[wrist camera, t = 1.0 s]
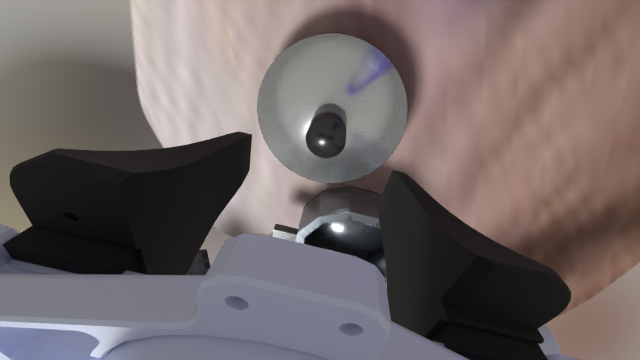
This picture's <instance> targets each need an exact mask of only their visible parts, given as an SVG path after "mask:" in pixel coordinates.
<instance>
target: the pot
mask: <svg viewBox="0 0 640 360" xmlns="http://www.w3.org/2000/svg"><path fill="white" fill-rule="evenodd" d="M380 198H381V195H379V194H378V193H375V192H371V191H367V190H363V189H359V188H355V187H351V186H349V187H344V188H339V189H334V190H329V191H323V192H321V193H320V194H319V195H318V196H317V197H315V198H314V199H313V200H312V201H311V202H309V203H308V204H307V205H306V206H305V207H304V209H303V213H302V217H301V221H300V225H299V229H296V228H292V227H287V226H283V225H279V224H276V225H275V227H274V231H273V237H277V238H281V239H285V240H289V241H293V242H298V243H302V244H306V245H310V246H314V247H318V248H323V249H327V250H331V251H335V252H339V253H344V254H348V255H352V256H356V257H358V258H360V259H362V260H364V261H367V262H369V263H371V264H373V265H375V266H376V267H377V268H378V270H379V271H380V272H381V274H382V275H383V276H384V278H385V282H386V283H387V276H386V260H385V253H384V247H383V241H382V235H381V229H380V223H379V200H380Z"/></svg>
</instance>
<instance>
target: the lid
mask: <svg viewBox="0 0 640 360" xmlns="http://www.w3.org/2000/svg"><path fill="white" fill-rule="evenodd" d="M407 111H408V107H407V97H406V92H405V88H404V85H403V82H402V79H401V77H400V75H399V73H398V72H397V70H396V68H395V67H394V65H393V64H392V63H391V61H390V60H389V59H388V58H387V57H386V56H385V55H384V54H383V53H382V52H381V51H380V50H378V49H377V48H376V47H374V46H373V45H371V44H369V43H368V42H366V41H364V40H362V39H359V38H356V37H354V36H350V35H345V34H333V33H329V34H321V35H315V36H312V37H308V38H305V39H303V40H301V41H298V42H296V43H295V44H293V45H291V46H290V47H288V48H287V49H286V50H285V51H283V52H282V53H281V54H280V55H279V56H278V57H277V58H276V59H275V61H274V62H273V63H272V64H271V66H270V67H269V69H268V70H267V72H266V74H265V76H264V78H263V81H262V83H261V87H260V90H259V95H258V102H257V113H258V121H259V125H260V129H261V132H262V135H263V137H264V140H265V142H266V143H267V145H268V147H269V149H270V150H271V151H272V153H273V154H274V155H275V157H276V158H277V159H278V160H279V161H280V162H281V163H282V164H283V165H284V166H286V167H287V168H288V169H290V170H291V171H293V172H295V173H296V174H298V175H300V176H302V177H305V178H307V179H310V180H314V181H318V182H324V183H342V182H348V181H352V180H356V179H359V178H361V177H364V176H366V175H368V174H370V173H371V172H373V171H374V170H376V169H377V168H379V167H380V166H381V165H382V164H383V163H385V162H386V161H387V159H388V158H389V157H390V156H391V155H392V154H393V152H394V151H395V149H396V148H397V146H398V144H399V142H400V140H401V138H402V136H403V133H404V130H405V126H406V121H407Z"/></svg>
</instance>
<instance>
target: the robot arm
mask: <svg viewBox="0 0 640 360" xmlns="http://www.w3.org/2000/svg"><path fill="white" fill-rule="evenodd" d="M251 140H252V135H251V134H247V133H243V132H235V133H230V134H227V135H223V136H220V137H216V138H212V139H209V140H205V141H201V142H196V143H192V144H188V145H183V146H177V147H170V148H162V149H151V150H137V151H92V150H73V149H54V150H51V151H49V152H46V153H44V154H41V155H39V156H36V157H34V158H31V159H29V160H26V161H24V162H21V163H19V164H18V165H16V166H15V167H13V169H12V171H11V173H10V186H11V188H12V190H13V193H14V195H15V196H16V198H17V200H18V202H19V203H20V205H21V207H22V208H23V210H24V212H25V213H26V215H27V217H28V218H29V220H30V222H31V223H32V225H33V226H31V227H30V228H28V229H26V230H25V231H23V232H22V233H20V232H18V231H17V230H15V229H14V228H12V227H9V226H6V225H2V224H0V360H580V359H576V358H571V357H567V356H563V355H561V352H560V348H559V346H558V344H557V341H556V339H555V338H554V336H553V335H552V333H551V331H550V330H549V328H548V327H547V326H546V323H547V322H548V321H550V320H551V319H553V318H554V317H556V316H557V315H559V314H560V313H561V312H562V311H563V310H564V309H566V307H567V305H568V304H569V302H570V300H571V291H570V290H569V288H568V286H567V285H566V284H565V282H564V281H563V280H562V279H561V278H560V276H559V275H558V274H557V273H556V272H555V271H554V270H553V269H551V268H549V267H547V266H545V265H542V264H540V263H538V262H536V261H533V260H531V259H529V258H527V257H525V256H522V255H520V254H518V253H516V252H514V251H512V250H510V249H508V248H506V247H504V246H502V245H501V244H499V243H497V242H495V241H493V240H491V239H490V238H488V237H486V236H485V235H483V234H481V233H480V232H478V231H476V230H475V229H473V228H471V227H470V226H468V225H467V224H465V223H464V222H463V221H461V220H460V219H458V218H457V217H456V216H454V215H453V214H451V213H450V212H449V211H448V210H446V209H445V208H444V207H443V206H442V205H440V204H439V203H438V202H437V201H436V200H434V199H433V198H432V197H431V196H430V195H429V194H428V193H427V192H426V191H425V190H424V189H422V188H421V187H420V186H419V185H418V184H417V183H416V182H415V181H414V180H413V179H412V178H411V177H409V176H408V175H407V174H405V173H402V172H398V171H394V170H393V171H392V173H391V176H390V178H389V180H388V182H387V184H386V187H385V189H384V191H383V193H382V195H381V198H380V200H379V223H380V229H381V235H382V241H383V247H384V253H385V260H386V276H387V289H386V282H385V278H384V276H383V275H382V274H381V272H380V271H379V270H378V268H377V267H376V266H375V265H373V264H371V263H369V262H367V261H364V260H362V259H360V258H358V257H356V256H352V255H348V254H344V253H339V252H335V251H331V250H327V249H323V248H318V247H314V246H310V245H306V244H302V243H298V242H293V241H289V240H285V239H281V238H277V237H273V236H268V235H264V234H240V235H237V236H235V237H233V238H231V239H229V240H226V241H225V243H224V245H223V246H222V248H221V250H220V252H219V253H218V255H217V257H216V258H215V260H214V262H213V263H212V265H211V267H210V268H209V270H208V272H207V273H206V275H187V273H188V271H189V269H190V267H191V265H192V263H193V261H194V259H195V257H196V255H197V253H198V251H199V249H200V247H201V246H202V244H203V242H204V240H205V238H206V236H207V235H208V233H209V231H210V229H211V228H212V226H213V224H214V222H215V221H216V219H217V218H218V216H219V215H220V214H221V212H222V211H223V210H224V208H225V207H226V205H227V204H228V203H229V201H230V200H231V199H232V197H233V196H234V195H235V193H236V192H237V191H238V189H239V188H240V186H241V185H242V183H243V181H244V180H245V178H246V176H247V174H248V172H249V168H250V154H251Z"/></svg>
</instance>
